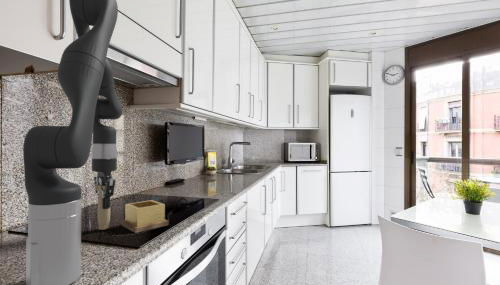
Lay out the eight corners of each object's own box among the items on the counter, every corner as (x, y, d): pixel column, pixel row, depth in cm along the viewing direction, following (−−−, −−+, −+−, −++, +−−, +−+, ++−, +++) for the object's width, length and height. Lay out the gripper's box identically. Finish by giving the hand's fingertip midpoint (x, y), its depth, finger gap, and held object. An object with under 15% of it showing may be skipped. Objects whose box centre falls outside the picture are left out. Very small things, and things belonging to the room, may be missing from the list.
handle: (101, 232, 87) (102, 186, 87) (91, 228, 91) (91, 184, 91) (116, 228, 91) (116, 184, 91) (105, 225, 95) (105, 182, 95)
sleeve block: (135, 232, 88) (135, 210, 88) (121, 225, 96) (121, 204, 96) (168, 224, 97) (168, 204, 97) (152, 218, 105) (153, 199, 105)
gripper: (85, 156, 93) (85, 206, 93) (99, 158, 84) (98, 213, 83) (108, 156, 99) (108, 202, 99) (124, 157, 89) (123, 209, 89)
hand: (104, 207), depth 91 cm, fingers closed on handle, 3 cm apart
